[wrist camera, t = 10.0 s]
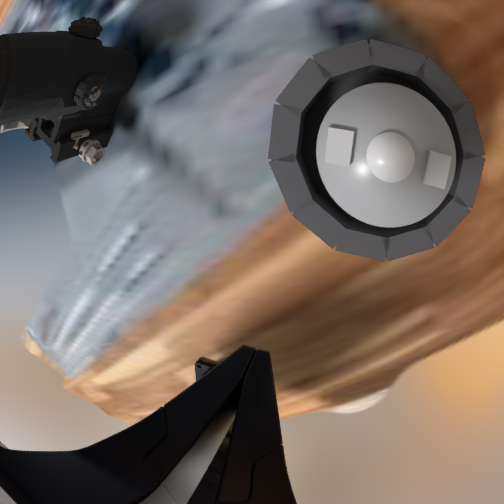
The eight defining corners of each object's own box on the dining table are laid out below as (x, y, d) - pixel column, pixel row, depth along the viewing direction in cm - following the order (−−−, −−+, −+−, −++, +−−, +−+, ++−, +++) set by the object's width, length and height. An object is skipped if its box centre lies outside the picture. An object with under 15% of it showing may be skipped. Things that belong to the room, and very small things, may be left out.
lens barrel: (425, 237, 16) (447, 277, 12) (278, 204, 18) (258, 235, 14) (457, 88, 11) (495, 84, 7) (296, 49, 13) (280, 25, 9)
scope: (-68, 158, 8) (-42, 8, 3) (65, 116, 20) (110, 16, 14) (-36, 231, 8) (-15, 24, 3) (118, 160, 20) (178, 47, 15)
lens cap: (420, 216, 13) (438, 241, 10) (313, 193, 14) (307, 214, 12) (441, 106, 10) (467, 106, 8) (325, 79, 12) (323, 69, 9)
